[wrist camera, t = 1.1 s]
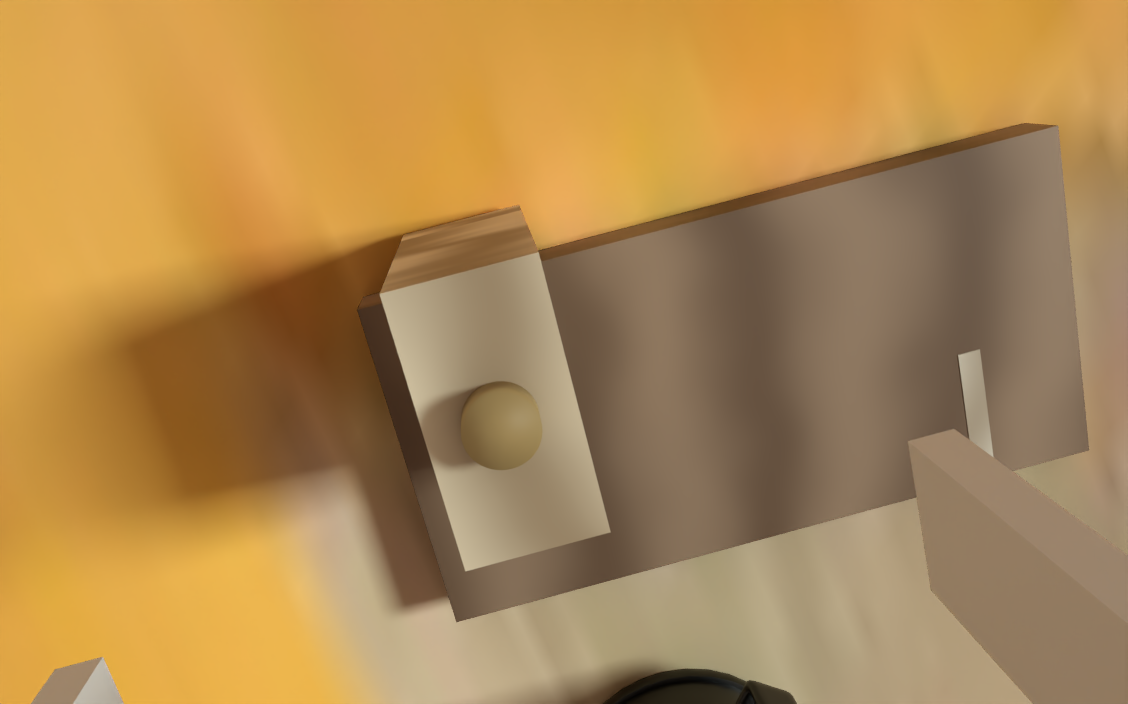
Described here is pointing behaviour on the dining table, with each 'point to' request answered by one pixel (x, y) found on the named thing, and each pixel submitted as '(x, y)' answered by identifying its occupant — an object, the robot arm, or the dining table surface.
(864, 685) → the dining table surface
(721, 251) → the board
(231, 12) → the dining table surface
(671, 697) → the french press
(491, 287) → the block
